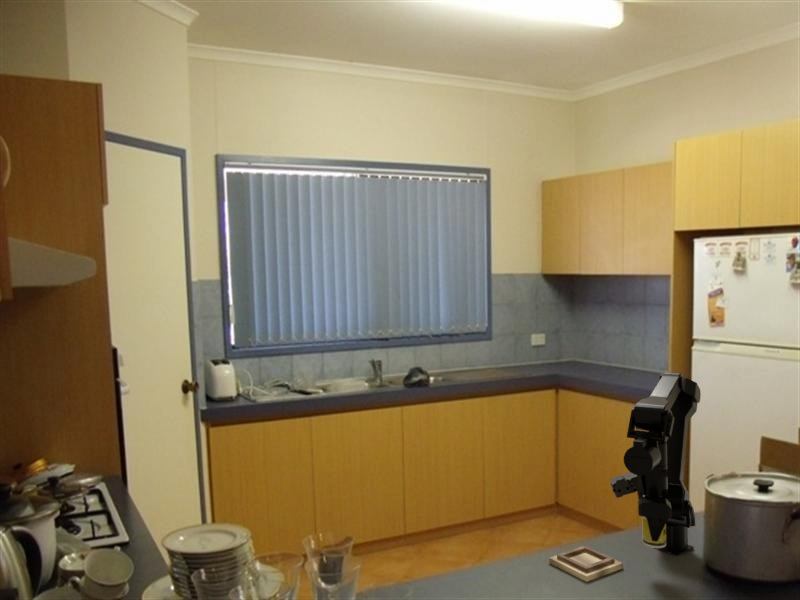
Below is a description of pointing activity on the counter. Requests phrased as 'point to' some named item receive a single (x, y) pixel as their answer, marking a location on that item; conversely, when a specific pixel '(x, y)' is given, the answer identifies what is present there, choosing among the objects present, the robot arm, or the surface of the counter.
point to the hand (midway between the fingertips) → (654, 536)
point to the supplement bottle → (647, 537)
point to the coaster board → (585, 563)
